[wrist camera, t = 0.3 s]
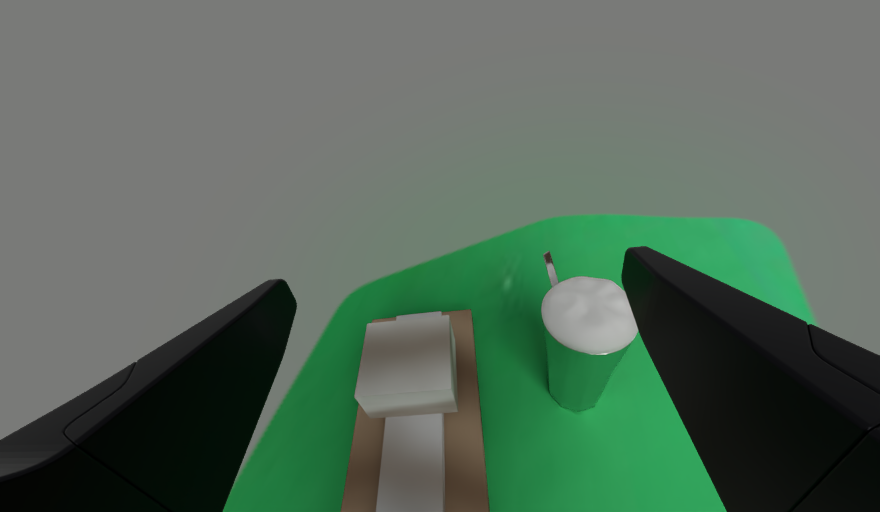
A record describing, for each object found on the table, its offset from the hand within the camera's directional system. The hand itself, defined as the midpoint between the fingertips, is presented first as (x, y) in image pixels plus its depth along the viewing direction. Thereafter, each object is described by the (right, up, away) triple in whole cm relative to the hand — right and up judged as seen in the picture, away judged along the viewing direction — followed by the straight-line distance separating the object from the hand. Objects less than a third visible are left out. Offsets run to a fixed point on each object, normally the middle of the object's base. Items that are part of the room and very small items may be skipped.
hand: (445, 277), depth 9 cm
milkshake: (+8, -8, +14) cm, 18 cm away
